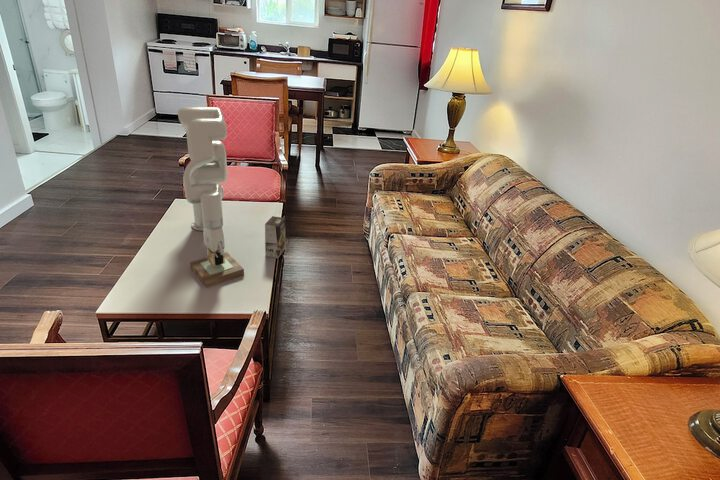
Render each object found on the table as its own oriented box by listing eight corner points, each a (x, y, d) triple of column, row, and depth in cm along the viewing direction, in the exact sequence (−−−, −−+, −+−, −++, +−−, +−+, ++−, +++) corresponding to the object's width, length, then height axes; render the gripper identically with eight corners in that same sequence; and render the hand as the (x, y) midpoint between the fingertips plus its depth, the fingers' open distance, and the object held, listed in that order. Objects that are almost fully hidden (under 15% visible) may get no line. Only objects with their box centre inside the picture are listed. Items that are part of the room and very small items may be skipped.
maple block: (208, 261, 175) (206, 248, 172) (219, 257, 178) (218, 245, 175) (213, 266, 172) (212, 253, 169) (225, 263, 175) (224, 250, 172)
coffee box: (278, 258, 190) (278, 226, 182) (264, 256, 191) (264, 224, 183) (285, 248, 198) (285, 217, 190) (272, 246, 199) (272, 215, 191)
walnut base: (190, 268, 178) (189, 261, 176) (227, 257, 187) (226, 251, 186) (206, 287, 167) (205, 280, 166) (244, 275, 177) (243, 268, 175)
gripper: (194, 215, 169) (199, 254, 178) (212, 232, 158) (216, 273, 167) (213, 211, 174) (216, 249, 182) (231, 228, 163) (234, 268, 172)
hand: (216, 260), depth 175 cm, fingers closed on maple block, 5 cm apart
